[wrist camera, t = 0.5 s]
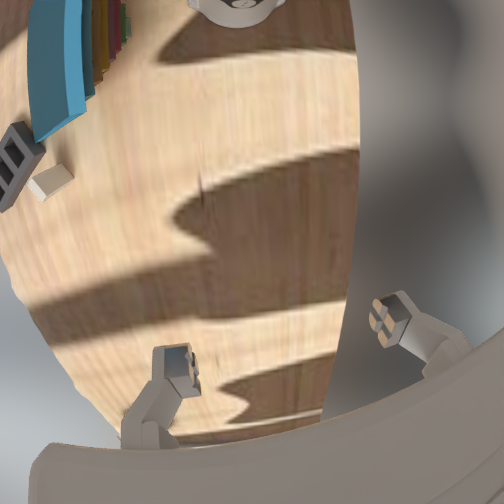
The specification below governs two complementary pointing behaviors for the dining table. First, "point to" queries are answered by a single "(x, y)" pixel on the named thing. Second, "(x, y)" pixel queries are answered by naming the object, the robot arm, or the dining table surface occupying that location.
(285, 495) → the robot arm
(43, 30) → the stacked coloured sheets
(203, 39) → the dining table surface
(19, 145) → the stand
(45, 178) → the white rectangular block
